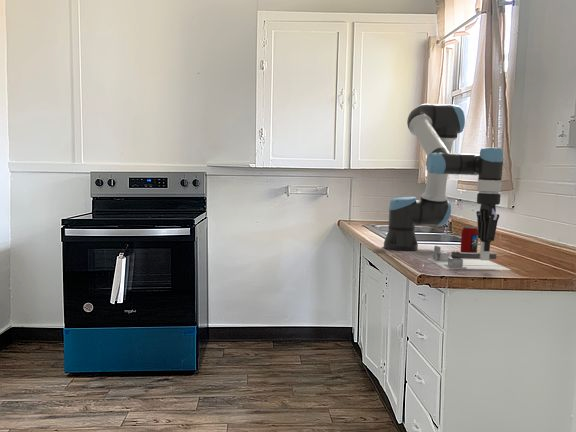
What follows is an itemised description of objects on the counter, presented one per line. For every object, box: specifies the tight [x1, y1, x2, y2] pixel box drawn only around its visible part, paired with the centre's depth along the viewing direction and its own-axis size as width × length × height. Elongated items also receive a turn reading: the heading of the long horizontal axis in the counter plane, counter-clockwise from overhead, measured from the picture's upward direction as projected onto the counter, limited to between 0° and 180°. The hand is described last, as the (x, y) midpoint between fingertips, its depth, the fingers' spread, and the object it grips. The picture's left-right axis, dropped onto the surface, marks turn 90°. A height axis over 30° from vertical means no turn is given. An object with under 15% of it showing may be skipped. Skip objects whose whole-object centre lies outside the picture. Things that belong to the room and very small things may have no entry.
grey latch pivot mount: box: [444, 256, 467, 270], centre depth 182 cm, size 6×6×3 cm
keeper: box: [432, 245, 450, 261], centre depth 195 cm, size 4×5×5 cm
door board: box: [428, 258, 511, 271], centre depth 188 cm, size 20×24×1 cm
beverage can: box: [459, 225, 479, 253], centre depth 216 cm, size 7×7×12 cm
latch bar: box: [450, 250, 497, 260], centre depth 182 cm, size 16×3×2 cm, turn 93°
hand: (484, 259), depth 176 cm, fingers closed
